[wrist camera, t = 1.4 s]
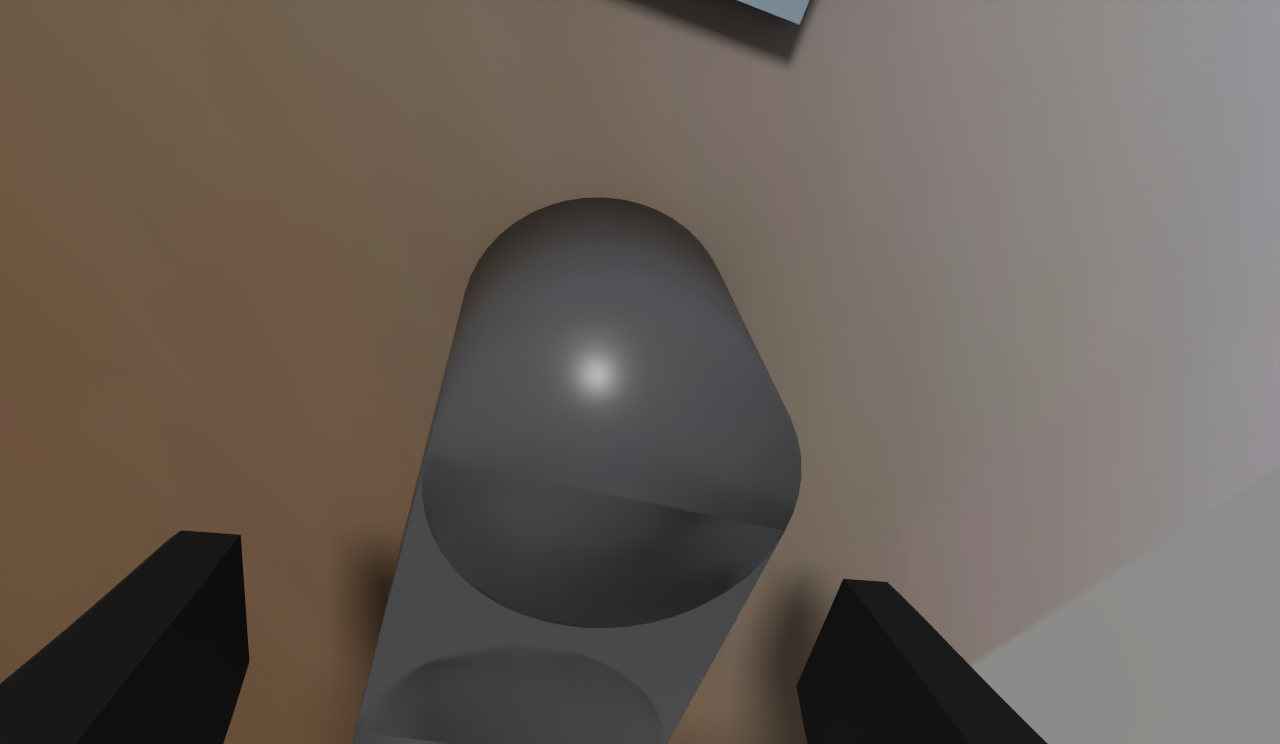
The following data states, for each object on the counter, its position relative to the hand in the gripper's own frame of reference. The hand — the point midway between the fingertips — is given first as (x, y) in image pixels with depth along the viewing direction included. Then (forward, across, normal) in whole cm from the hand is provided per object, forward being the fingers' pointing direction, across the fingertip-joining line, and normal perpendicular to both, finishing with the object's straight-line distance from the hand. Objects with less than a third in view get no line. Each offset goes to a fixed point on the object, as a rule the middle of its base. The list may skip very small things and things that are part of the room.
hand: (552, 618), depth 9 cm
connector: (+4, 0, 0) cm, 4 cm away
